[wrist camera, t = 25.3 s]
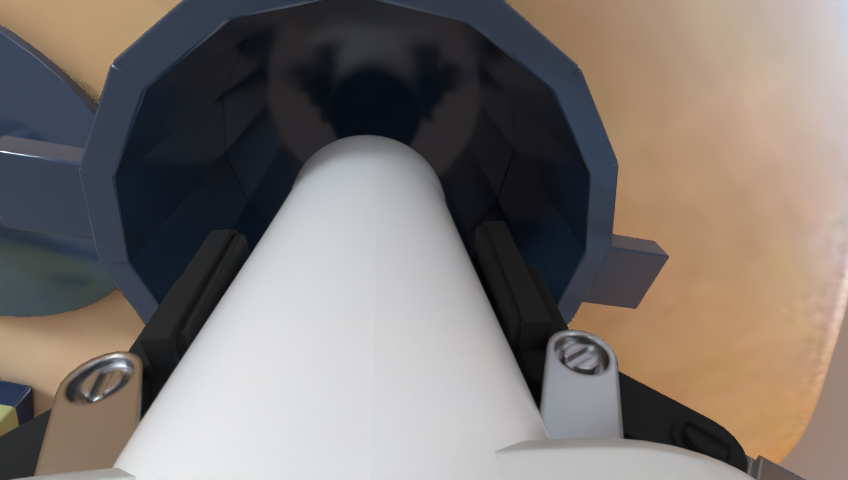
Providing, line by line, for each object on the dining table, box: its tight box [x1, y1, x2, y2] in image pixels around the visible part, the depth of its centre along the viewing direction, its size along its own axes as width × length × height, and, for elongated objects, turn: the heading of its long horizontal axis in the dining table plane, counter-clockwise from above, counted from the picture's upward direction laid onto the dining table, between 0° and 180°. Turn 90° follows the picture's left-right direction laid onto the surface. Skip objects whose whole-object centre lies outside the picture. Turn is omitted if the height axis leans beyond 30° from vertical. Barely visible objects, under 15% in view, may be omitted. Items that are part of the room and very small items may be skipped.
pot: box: [0, 0, 669, 325], centre depth 16 cm, size 15×20×9 cm
